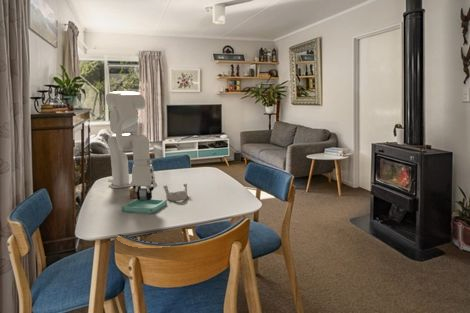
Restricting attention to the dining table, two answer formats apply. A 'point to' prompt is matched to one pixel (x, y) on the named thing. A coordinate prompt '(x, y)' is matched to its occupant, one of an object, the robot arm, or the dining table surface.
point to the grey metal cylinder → (143, 194)
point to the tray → (144, 206)
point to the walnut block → (133, 193)
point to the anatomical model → (176, 194)
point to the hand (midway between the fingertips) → (144, 199)
